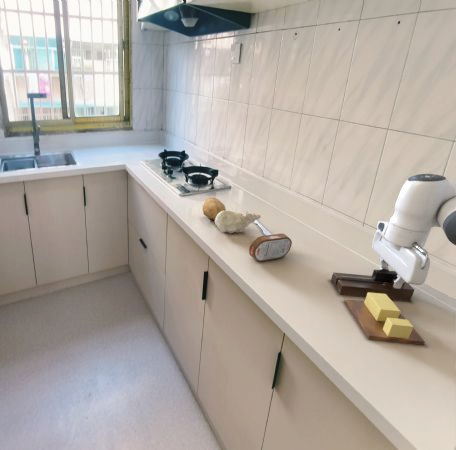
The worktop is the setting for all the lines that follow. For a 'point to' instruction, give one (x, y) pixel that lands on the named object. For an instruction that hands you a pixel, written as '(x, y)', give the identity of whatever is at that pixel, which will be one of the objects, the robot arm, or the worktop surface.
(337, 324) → the worktop surface
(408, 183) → the robot arm
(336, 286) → the knife stand
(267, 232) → the butter knife
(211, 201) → the potato
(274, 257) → the tin
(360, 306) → the board
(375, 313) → the butter
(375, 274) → the knife
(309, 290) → the worktop surface
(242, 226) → the cream lumpy tapered piece
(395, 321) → the butter pat
